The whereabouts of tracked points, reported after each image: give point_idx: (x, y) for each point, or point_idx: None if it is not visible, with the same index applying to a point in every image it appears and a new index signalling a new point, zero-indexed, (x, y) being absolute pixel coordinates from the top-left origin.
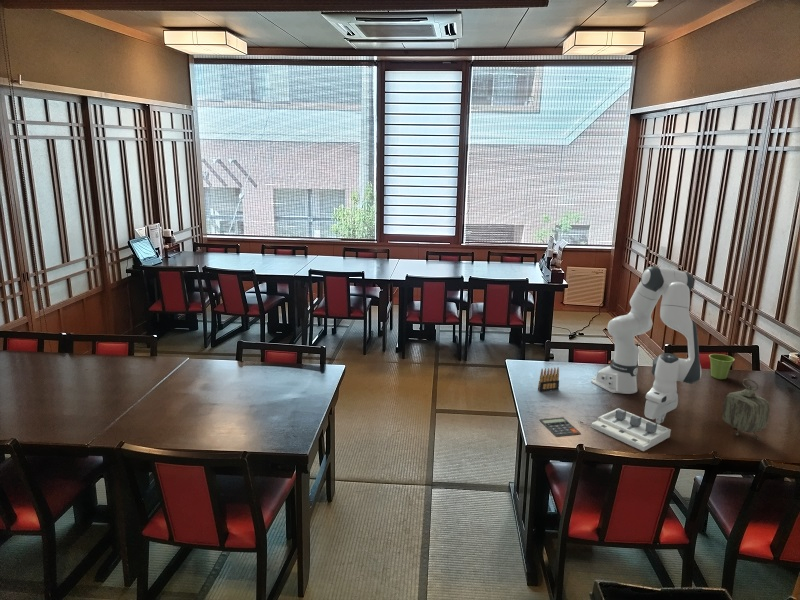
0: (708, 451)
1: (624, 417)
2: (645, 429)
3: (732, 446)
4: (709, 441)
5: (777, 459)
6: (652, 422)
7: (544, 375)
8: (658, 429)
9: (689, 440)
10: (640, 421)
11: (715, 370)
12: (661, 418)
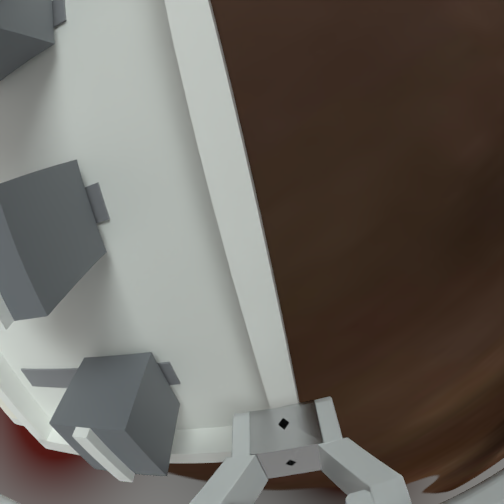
0: (333, 486)
1: (16, 55)
2: (79, 368)
3: (444, 460)
4: (430, 441)
5: (441, 490)
6: (112, 463)
7: None
8: (255, 373)
9: (367, 434)
10: (69, 281)
11: None
12: (319, 460)
